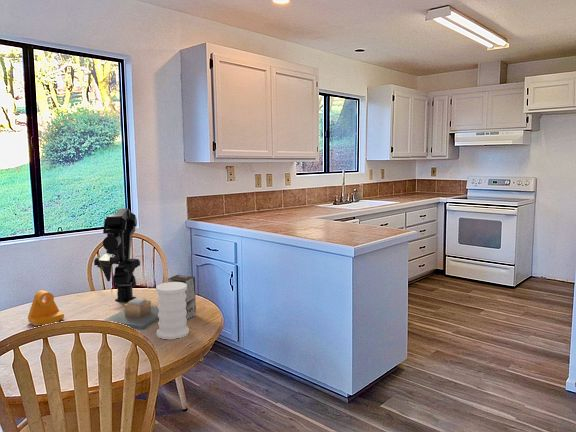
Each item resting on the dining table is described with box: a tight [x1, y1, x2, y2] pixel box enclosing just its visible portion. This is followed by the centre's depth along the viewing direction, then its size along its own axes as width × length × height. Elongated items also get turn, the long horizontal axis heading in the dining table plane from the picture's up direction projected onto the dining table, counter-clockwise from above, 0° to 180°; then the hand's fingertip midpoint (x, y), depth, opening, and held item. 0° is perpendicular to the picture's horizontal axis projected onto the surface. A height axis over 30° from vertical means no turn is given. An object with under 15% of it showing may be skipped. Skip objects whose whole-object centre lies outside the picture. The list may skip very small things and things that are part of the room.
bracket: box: [27, 289, 65, 327], centre depth 174 cm, size 11×7×12 cm, turn 139°
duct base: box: [104, 297, 159, 330], centre depth 179 cm, size 20×18×7 cm
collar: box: [123, 299, 152, 319], centre depth 179 cm, size 7×7×5 cm
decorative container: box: [155, 281, 190, 340], centre depth 162 cm, size 12×12×18 cm
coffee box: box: [167, 274, 197, 320], centre depth 180 cm, size 9×6×16 cm
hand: (118, 282), depth 186 cm, fingers open, 9 cm apart
